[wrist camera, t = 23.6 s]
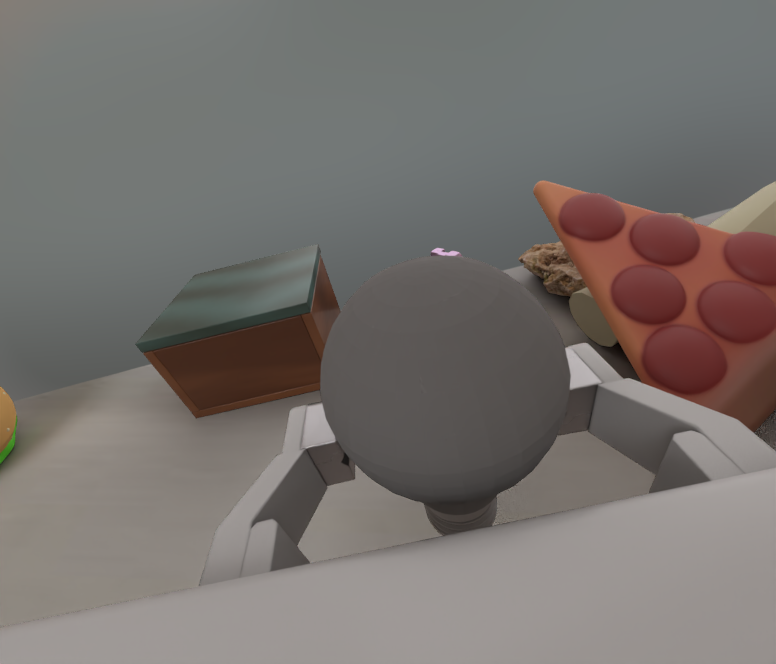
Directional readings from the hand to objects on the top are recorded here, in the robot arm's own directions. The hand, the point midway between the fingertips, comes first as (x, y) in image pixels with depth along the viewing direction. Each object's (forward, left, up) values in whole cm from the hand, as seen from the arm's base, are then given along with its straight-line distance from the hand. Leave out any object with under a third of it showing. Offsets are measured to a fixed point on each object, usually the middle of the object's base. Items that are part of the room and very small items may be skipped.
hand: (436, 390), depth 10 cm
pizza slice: (+22, +5, -10) cm, 24 cm away
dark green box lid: (-14, +21, -5) cm, 26 cm away
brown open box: (-14, +21, -13) cm, 28 cm away
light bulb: (0, -1, -6) cm, 6 cm away
